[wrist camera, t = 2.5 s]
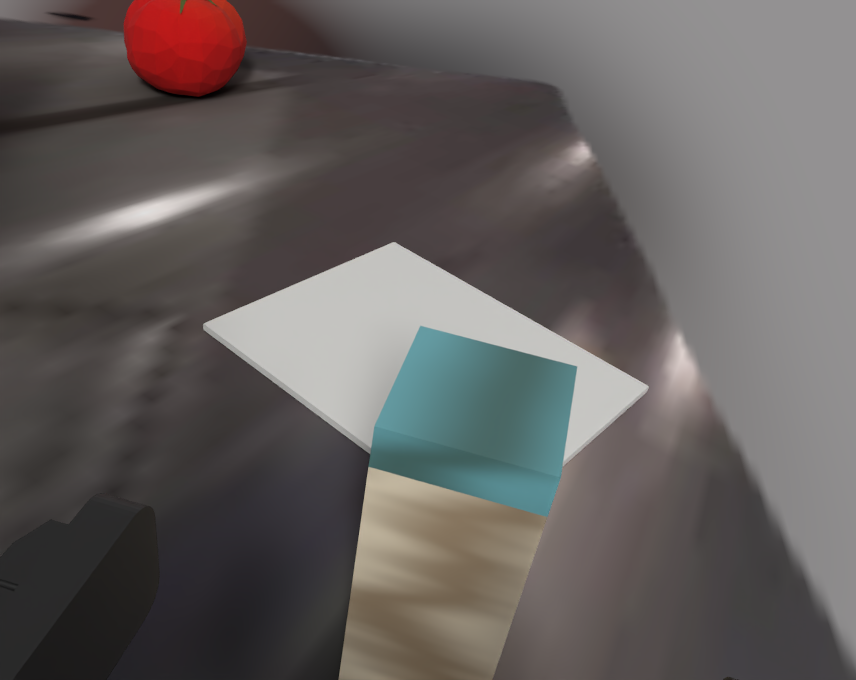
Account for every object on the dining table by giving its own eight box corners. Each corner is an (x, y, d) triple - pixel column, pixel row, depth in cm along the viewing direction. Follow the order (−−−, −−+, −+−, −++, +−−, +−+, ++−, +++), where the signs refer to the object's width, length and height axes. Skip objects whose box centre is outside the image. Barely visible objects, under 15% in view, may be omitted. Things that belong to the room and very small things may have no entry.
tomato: (103, 84, 69) (93, -21, 64) (192, 61, 76) (189, -35, 71) (183, 118, 65) (180, 10, 60) (268, 91, 73) (271, -7, 68)
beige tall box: (338, 680, 28) (374, 426, 21) (379, 570, 32) (420, 325, 25) (477, 724, 28) (560, 477, 21) (501, 606, 32) (577, 366, 25)
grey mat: (203, 329, 43) (203, 323, 43) (393, 247, 53) (394, 241, 53) (482, 537, 34) (484, 531, 34) (646, 392, 44) (648, 386, 44)
